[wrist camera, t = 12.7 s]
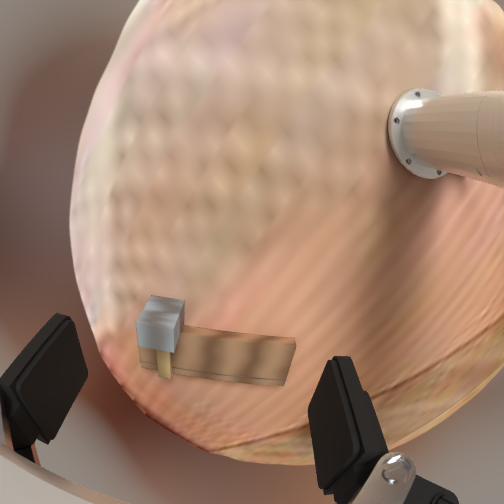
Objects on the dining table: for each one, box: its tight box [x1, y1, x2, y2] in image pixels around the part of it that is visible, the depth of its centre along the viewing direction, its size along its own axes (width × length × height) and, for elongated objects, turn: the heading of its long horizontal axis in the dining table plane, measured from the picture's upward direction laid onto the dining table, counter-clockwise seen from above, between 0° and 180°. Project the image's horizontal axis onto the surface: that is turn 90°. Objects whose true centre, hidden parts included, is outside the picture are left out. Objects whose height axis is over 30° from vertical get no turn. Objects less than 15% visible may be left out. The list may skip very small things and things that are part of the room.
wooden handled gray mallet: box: [136, 295, 185, 379], centre depth 39 cm, size 5×13×7 cm, turn 172°
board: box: [136, 325, 296, 386], centre depth 43 cm, size 24×9×2 cm, turn 82°
